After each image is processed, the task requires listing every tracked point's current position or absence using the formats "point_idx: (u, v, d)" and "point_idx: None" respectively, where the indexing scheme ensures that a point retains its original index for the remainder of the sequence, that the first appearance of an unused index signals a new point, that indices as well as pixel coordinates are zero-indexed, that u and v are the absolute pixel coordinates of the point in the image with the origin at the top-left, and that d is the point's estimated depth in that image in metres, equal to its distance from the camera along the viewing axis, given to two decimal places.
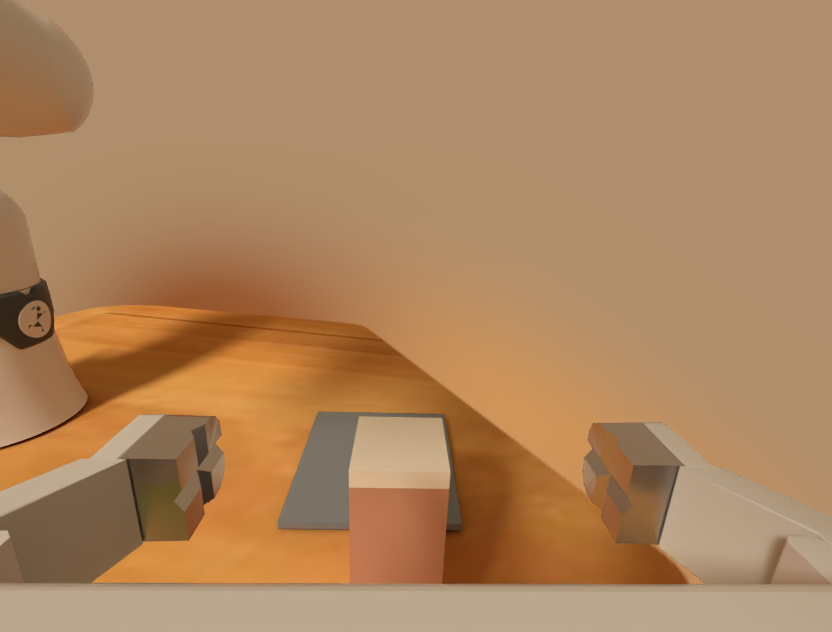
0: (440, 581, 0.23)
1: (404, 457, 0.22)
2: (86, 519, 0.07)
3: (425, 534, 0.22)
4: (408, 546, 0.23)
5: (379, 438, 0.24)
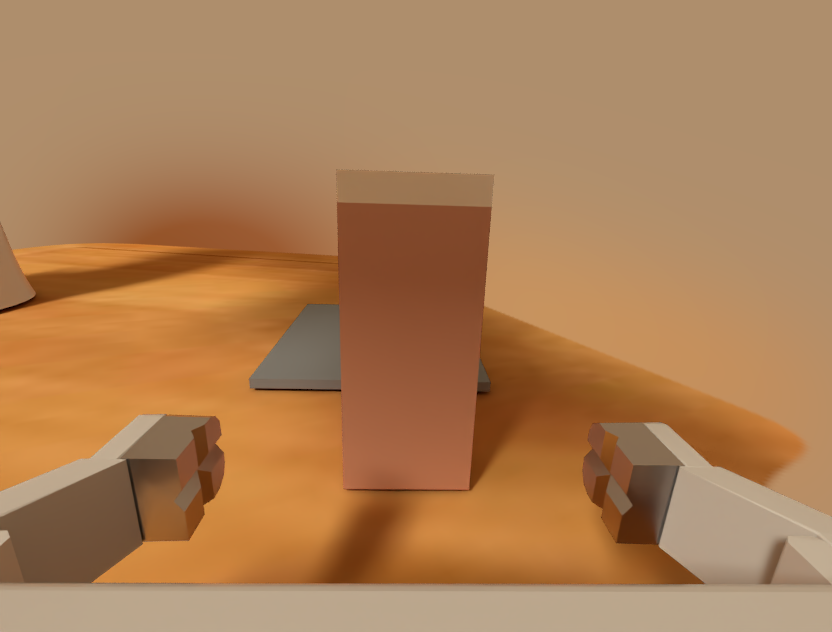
0: (475, 378, 0.16)
1: None
2: (86, 519, 0.07)
3: (454, 293, 0.15)
4: (427, 313, 0.15)
5: None
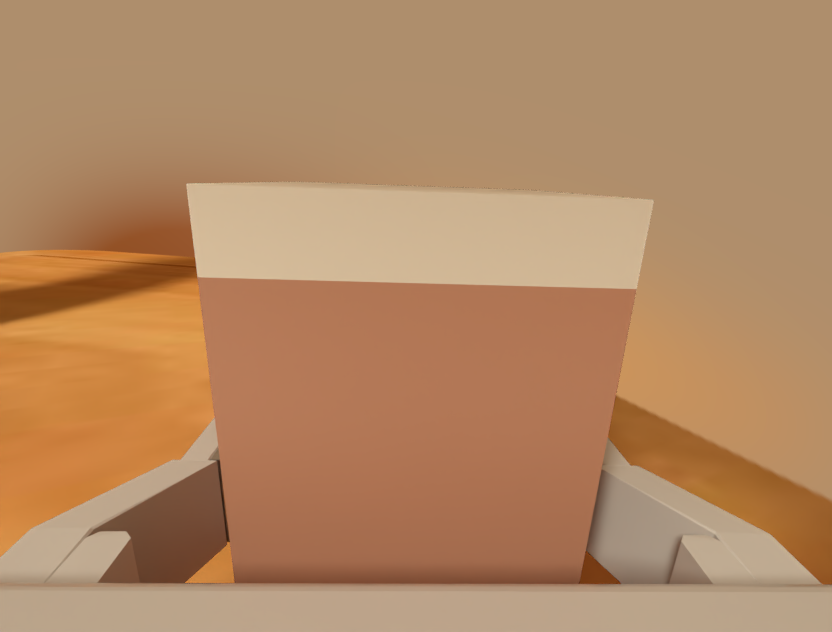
0: None
1: (438, 189, 0.06)
2: (183, 520, 0.07)
3: (519, 495, 0.06)
4: (450, 540, 0.06)
5: None
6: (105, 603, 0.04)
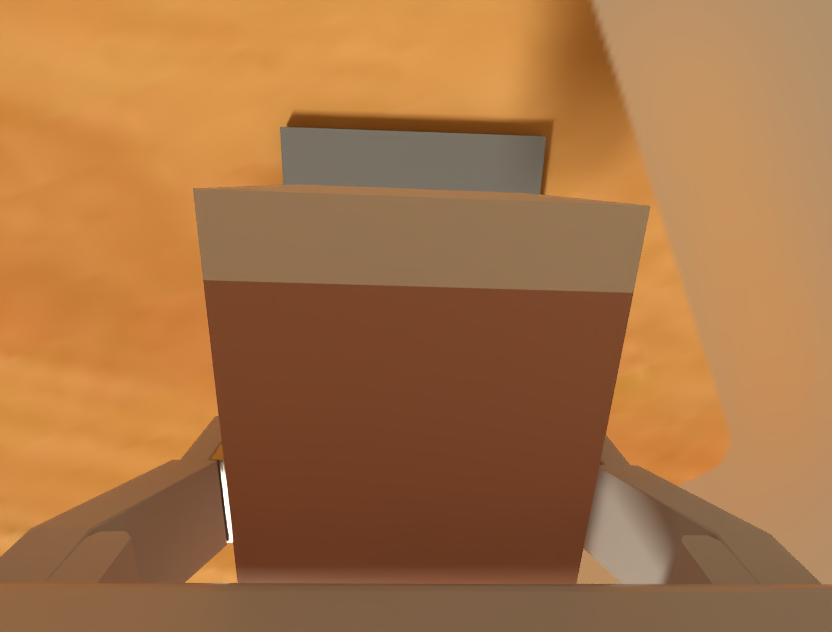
0: None
1: (439, 194, 0.06)
2: (183, 520, 0.07)
3: (518, 495, 0.06)
4: (450, 539, 0.06)
5: (350, 188, 0.07)
6: (105, 603, 0.04)
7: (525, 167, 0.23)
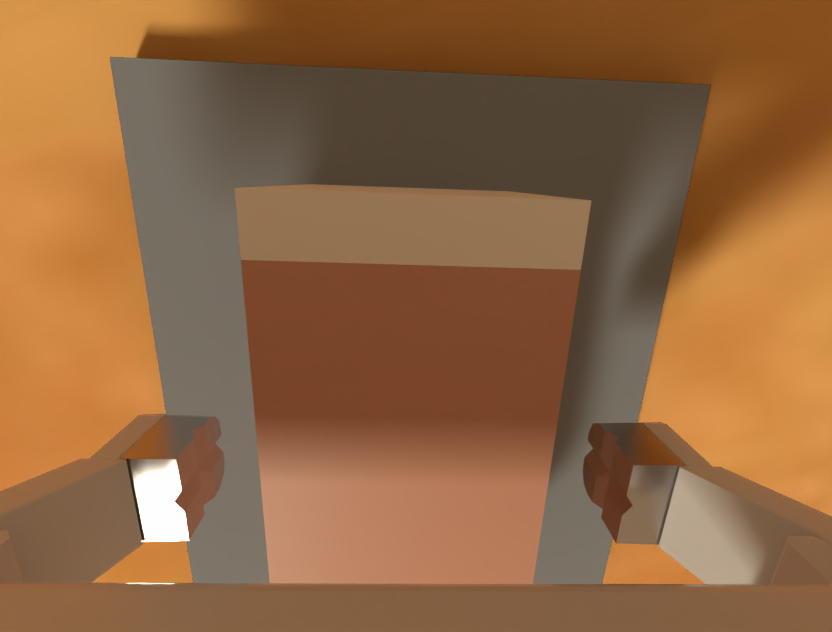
0: (527, 583, 0.08)
1: (428, 192, 0.07)
2: (86, 519, 0.07)
3: (493, 438, 0.07)
4: (437, 475, 0.07)
5: (354, 187, 0.09)
6: (105, 603, 0.04)
7: (658, 154, 0.11)
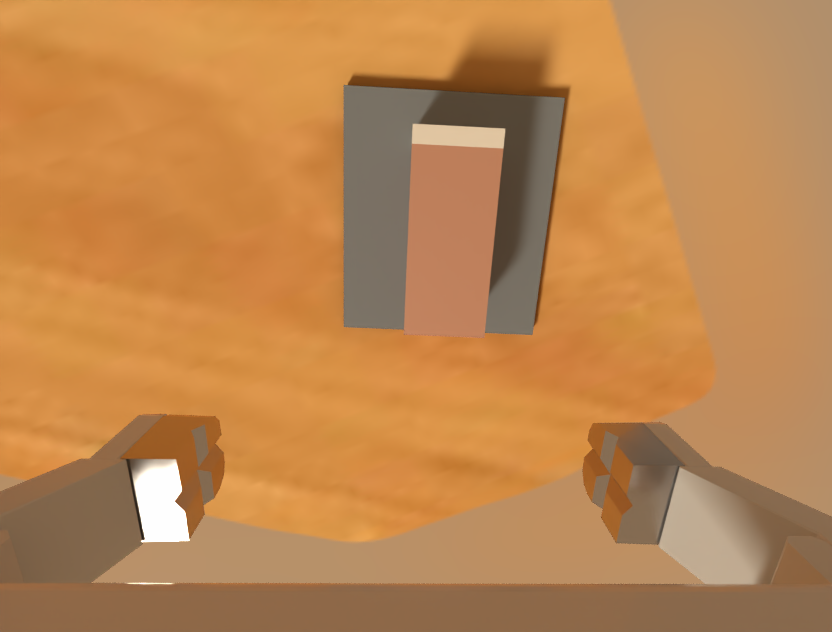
0: (490, 259, 0.25)
1: None
2: (86, 519, 0.07)
3: (479, 202, 0.24)
4: (462, 215, 0.24)
5: None
6: (105, 603, 0.04)
7: (546, 124, 0.28)
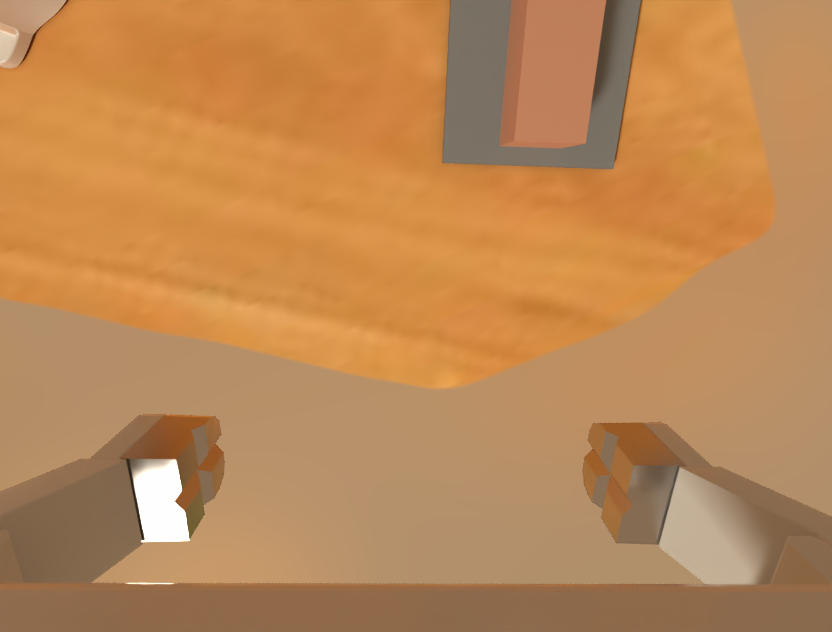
0: (595, 64, 0.28)
1: None
2: (86, 519, 0.07)
3: (588, 6, 0.27)
4: (573, 19, 0.27)
5: None
6: (105, 603, 0.04)
7: None
